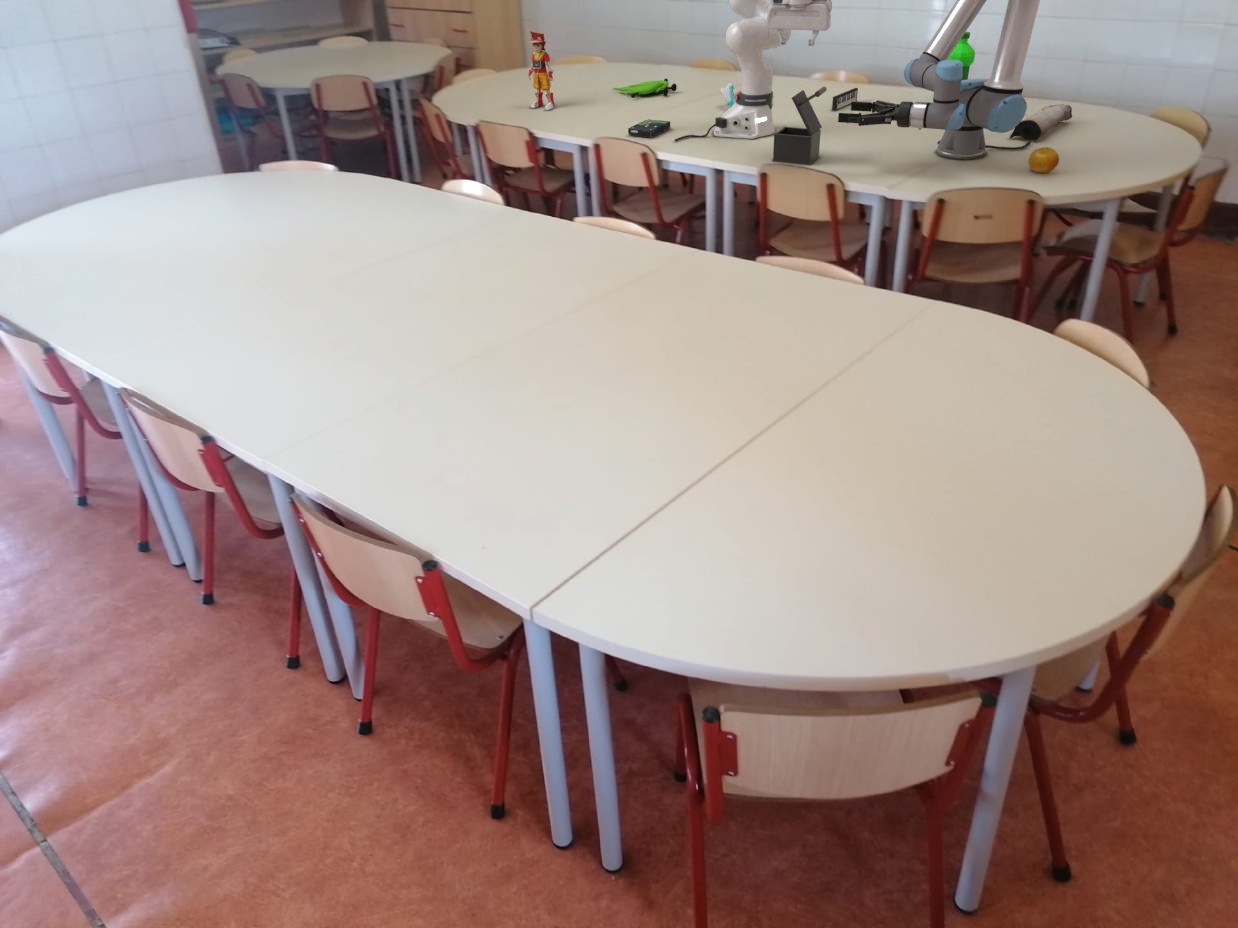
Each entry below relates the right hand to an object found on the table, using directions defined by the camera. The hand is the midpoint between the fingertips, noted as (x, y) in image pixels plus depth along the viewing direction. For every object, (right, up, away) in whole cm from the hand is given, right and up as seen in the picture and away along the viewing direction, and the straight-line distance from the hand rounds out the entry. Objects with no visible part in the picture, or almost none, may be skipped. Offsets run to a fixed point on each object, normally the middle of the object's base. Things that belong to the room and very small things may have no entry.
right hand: (844, 111), depth 288 cm
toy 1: (-106, +39, +95) cm, 147 cm away
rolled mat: (+76, +4, +28) cm, 82 cm away
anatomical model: (-26, +32, +78) cm, 88 cm away
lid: (-11, +2, +7) cm, 13 cm away
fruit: (+59, -22, -8) cm, 64 cm away
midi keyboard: (+18, +30, +71) cm, 79 cm away
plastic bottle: (+60, +30, +67) cm, 95 cm away
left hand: (-16, +20, -3) cm, 26 cm away
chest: (-13, -10, +16) cm, 23 cm away
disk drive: (-61, +13, +53) cm, 82 cm away
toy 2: (-63, +51, +109) cm, 136 cm away
